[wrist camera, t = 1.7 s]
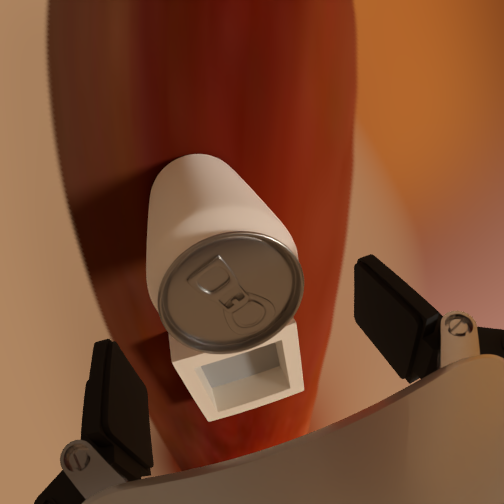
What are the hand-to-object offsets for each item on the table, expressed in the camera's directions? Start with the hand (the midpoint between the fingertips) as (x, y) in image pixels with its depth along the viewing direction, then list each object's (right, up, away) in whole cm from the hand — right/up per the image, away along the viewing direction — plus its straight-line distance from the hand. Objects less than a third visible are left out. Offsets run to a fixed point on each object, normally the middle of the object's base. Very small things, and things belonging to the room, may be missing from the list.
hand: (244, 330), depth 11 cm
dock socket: (-1, -7, +19) cm, 20 cm away
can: (-4, +7, +11) cm, 13 cm away
